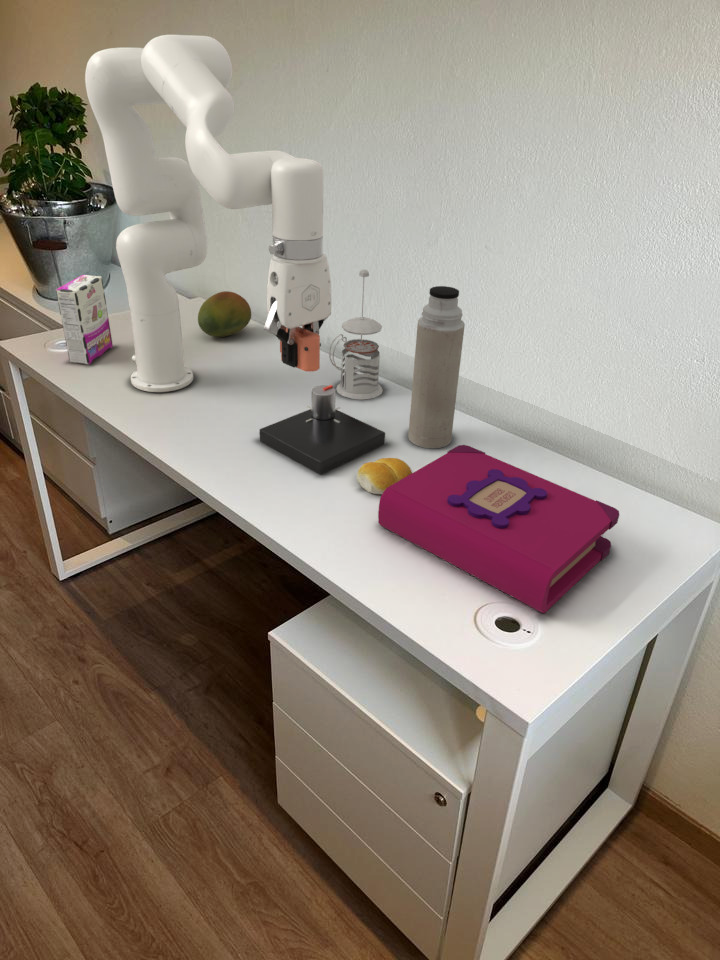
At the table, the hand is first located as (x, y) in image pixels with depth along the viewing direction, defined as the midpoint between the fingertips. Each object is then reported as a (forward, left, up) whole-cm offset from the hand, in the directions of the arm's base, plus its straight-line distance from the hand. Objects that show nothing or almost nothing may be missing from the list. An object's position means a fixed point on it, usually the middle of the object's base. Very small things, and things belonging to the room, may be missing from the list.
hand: (298, 360), depth 121 cm
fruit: (-55, +26, -18) cm, 63 cm away
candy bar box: (-64, -4, -18) cm, 67 cm away
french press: (-12, +27, -18) cm, 34 cm away
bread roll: (+17, +4, -18) cm, 25 cm away
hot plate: (0, +6, -17) cm, 18 cm away
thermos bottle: (+12, +22, -18) cm, 30 cm away
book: (+39, +4, -18) cm, 43 cm away
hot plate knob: (-5, +10, -15) cm, 19 cm away
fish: (0, 0, 0) cm, 0 cm away
